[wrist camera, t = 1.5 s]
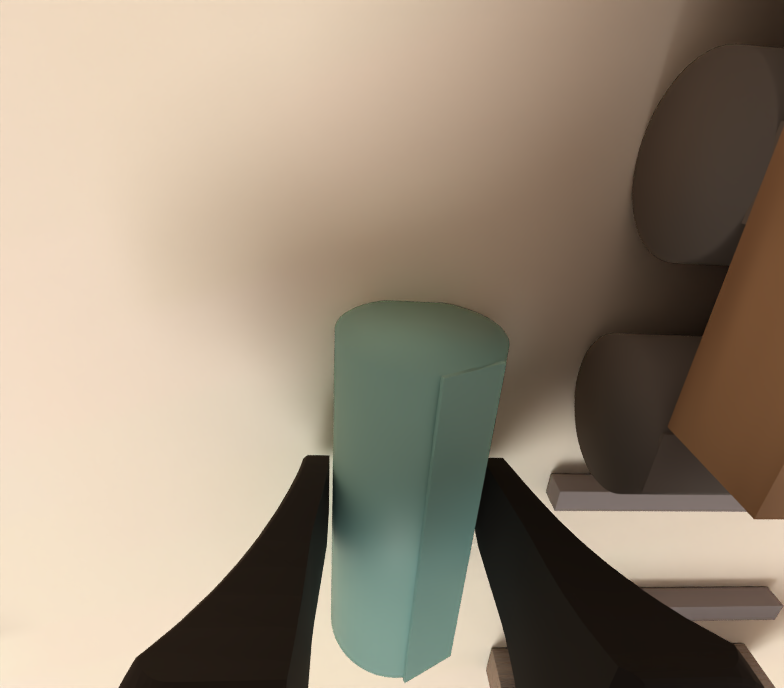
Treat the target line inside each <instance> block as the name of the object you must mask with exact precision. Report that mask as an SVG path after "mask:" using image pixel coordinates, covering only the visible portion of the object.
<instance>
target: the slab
mask: <svg viewBox="0 0 784 688" xmlns="http://www.w3.org/2000/svg"><path fill="white" fill-rule="evenodd" d="M668 428H669V429H670V430H671V431H672V432H673V433H674V435H675V436H676V437H677V438H678V439H679V440H680V441H681V442H682V443H683V444H684V445H685V446H686V447H687V448H688V449H689V450H690V452H691V453H692V454H693V455H694V456H695V457H696V458H697V459H698V460H699V461H700V462H701V463H702V464H703V465H704V466H705V467H706V469H707V470H708V471H709V472H710V473H711V474H712V475H713V476H714V477H715V478H716V479H717V480H718V481H719V482H720V483H721V484H722V486H723V487H724V488H725V489H726V490H727V491H728V492H729V493H730V494H731V495H732V496H733V497H734V498H735V499H736V500H737V501H738V503H739V504H740V505H741V506H742V507H743V508H744V509H745V510H746V511H747V512H748V513H749V514H750V515H751V516H752V517H753V518H754V519H784V127H783V130H782V132H781V135H780V137H779V140H778V143H777V145H776V148H775V150H774V153H773V156H772V158H771V161H770V163H769V166H768V168H767V171H766V174H765V176H764V179H763V181H762V184H761V186H760V189H759V192H758V194H757V197H756V199H755V202H754V205H753V207H752V210H751V212H750V215H749V217H748V220H747V223H746V225H745V228H744V230H743V233H742V236H741V238H740V241H739V243H738V246H737V248H736V251H735V254H734V256H733V259H732V261H731V264H730V267H729V269H728V272H727V274H726V277H725V279H724V282H723V285H722V287H721V290H720V292H719V295H718V297H717V300H716V303H715V305H714V308H713V310H712V313H711V316H710V318H709V321H708V323H707V326H706V328H705V331H704V334H703V336H702V339H701V341H700V344H699V347H698V349H697V352H696V354H695V357H694V359H693V362H692V365H691V367H690V370H689V372H688V375H687V377H686V380H685V383H684V385H683V388H682V390H681V393H680V396H679V398H678V401H677V403H676V406H675V408H674V411H673V414H672V416H671V419H670V421H669V424H668Z"/></svg>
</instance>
